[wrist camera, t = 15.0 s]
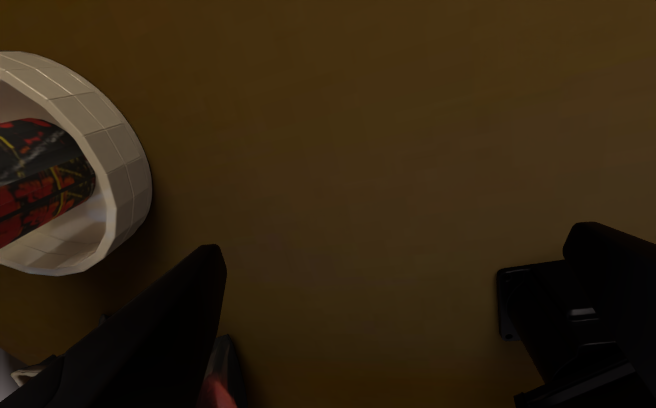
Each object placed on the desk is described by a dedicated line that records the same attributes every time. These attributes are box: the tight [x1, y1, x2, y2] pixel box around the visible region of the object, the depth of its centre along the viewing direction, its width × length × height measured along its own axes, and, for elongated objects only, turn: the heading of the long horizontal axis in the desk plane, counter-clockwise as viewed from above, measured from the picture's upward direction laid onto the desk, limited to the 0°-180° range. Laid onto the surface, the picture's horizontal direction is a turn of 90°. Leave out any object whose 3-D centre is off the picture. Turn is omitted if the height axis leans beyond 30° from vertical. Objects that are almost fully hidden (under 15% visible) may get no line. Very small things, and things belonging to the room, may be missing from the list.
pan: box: [0, 50, 152, 276], centre depth 19 cm, size 13×13×4 cm
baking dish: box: [10, 314, 248, 408], centre depth 25 cm, size 14×18×10 cm
